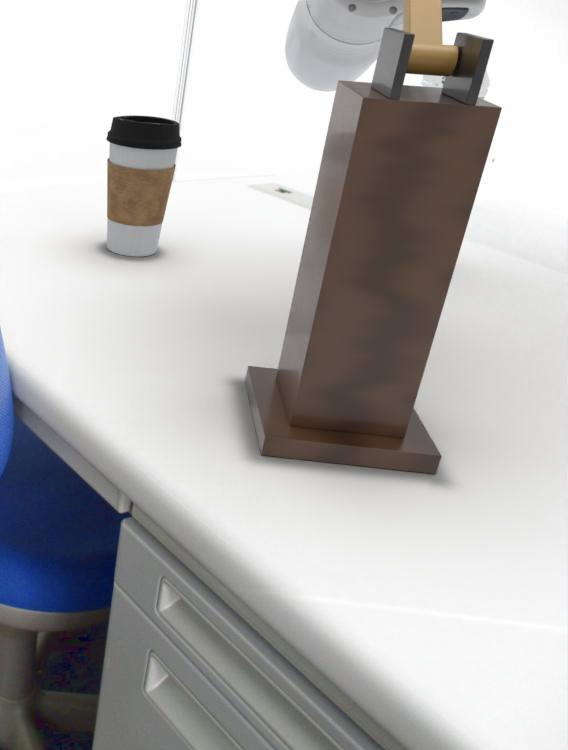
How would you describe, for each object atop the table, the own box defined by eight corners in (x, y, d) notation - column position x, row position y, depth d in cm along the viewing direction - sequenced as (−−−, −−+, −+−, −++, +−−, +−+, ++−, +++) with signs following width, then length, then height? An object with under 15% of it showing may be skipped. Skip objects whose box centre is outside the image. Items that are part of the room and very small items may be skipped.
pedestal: (393, 397, 71) (496, 30, 58) (436, 474, 60) (573, 47, 48) (244, 381, 72) (313, 18, 59) (261, 455, 61) (349, 32, 49)
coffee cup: (86, 252, 101) (98, 118, 94) (108, 234, 108) (120, 107, 101) (157, 264, 98) (175, 127, 91) (174, 245, 105) (192, 116, 98)
